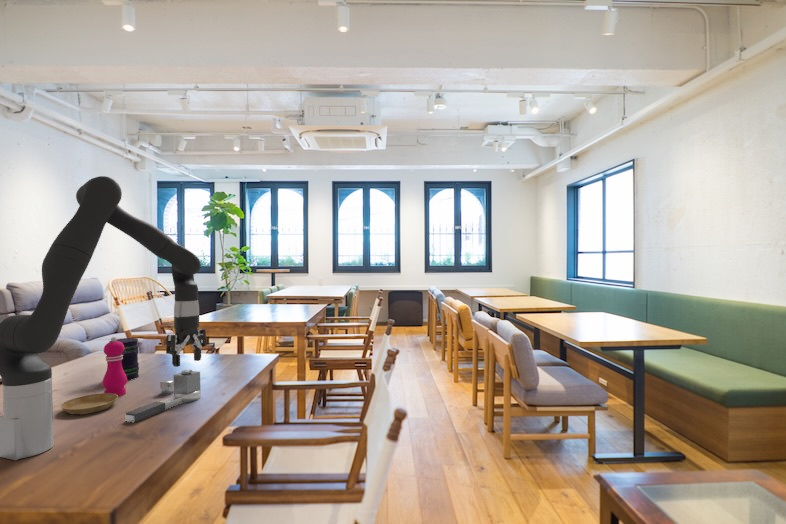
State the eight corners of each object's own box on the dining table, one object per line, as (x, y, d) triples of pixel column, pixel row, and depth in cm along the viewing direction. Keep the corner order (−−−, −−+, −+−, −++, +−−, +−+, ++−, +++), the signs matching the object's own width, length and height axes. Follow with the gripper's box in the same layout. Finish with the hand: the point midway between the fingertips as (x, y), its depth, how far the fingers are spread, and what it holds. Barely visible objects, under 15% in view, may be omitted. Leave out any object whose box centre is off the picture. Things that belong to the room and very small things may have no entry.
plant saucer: (129, 402, 139) (129, 394, 139) (85, 419, 125) (85, 410, 125) (94, 399, 143) (94, 391, 143) (48, 415, 129) (48, 406, 129)
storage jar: (128, 381, 163) (127, 342, 162) (103, 382, 163) (102, 343, 163) (144, 374, 173) (143, 337, 172) (120, 374, 173) (119, 338, 173)
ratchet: (139, 424, 120) (139, 402, 120) (119, 420, 123) (118, 400, 123) (206, 396, 144) (205, 378, 144) (187, 394, 147) (187, 376, 147)
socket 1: (167, 395, 146) (166, 383, 146) (157, 394, 147) (157, 382, 147) (177, 391, 150) (177, 380, 150) (167, 390, 151) (167, 379, 151)
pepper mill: (115, 398, 143) (113, 339, 143) (97, 397, 144) (95, 338, 144) (132, 391, 150) (131, 335, 150) (115, 390, 152) (113, 334, 151)
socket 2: (187, 394, 138) (186, 373, 138) (173, 393, 140) (173, 372, 140) (200, 389, 143) (199, 369, 143) (187, 388, 145) (187, 368, 145)
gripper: (194, 311, 149) (195, 358, 149) (159, 316, 136) (160, 367, 136) (211, 312, 146) (212, 359, 146) (177, 317, 133) (178, 369, 133)
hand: (187, 363), depth 141 cm, fingers open, 8 cm apart
